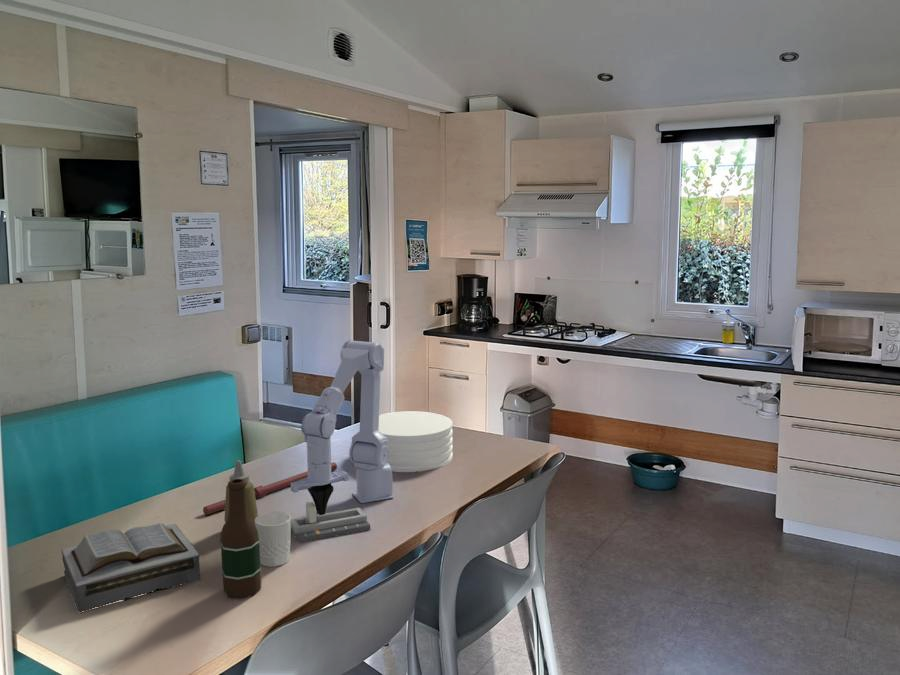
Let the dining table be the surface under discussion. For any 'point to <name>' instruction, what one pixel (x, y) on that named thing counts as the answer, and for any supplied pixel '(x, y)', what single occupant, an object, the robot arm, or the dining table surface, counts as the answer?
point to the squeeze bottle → (249, 490)
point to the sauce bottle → (240, 547)
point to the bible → (128, 564)
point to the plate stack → (417, 440)
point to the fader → (310, 513)
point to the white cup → (274, 538)
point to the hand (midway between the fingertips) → (320, 513)
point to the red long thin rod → (263, 490)
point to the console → (330, 525)
